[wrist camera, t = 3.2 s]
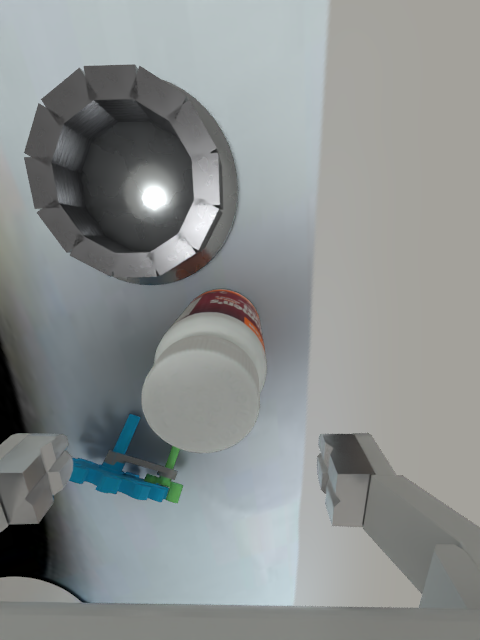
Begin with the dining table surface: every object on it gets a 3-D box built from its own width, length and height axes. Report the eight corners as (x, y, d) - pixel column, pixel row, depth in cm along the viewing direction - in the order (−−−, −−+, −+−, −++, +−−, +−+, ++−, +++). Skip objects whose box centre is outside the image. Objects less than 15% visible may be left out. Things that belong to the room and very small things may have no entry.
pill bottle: (274, 313, 22) (303, 385, 12) (234, 372, 24) (225, 484, 13) (208, 272, 22) (171, 308, 11) (170, 336, 23) (105, 424, 12)
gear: (46, 467, 25) (18, 482, 17) (81, 402, 28) (73, 387, 19) (162, 498, 28) (188, 525, 19) (183, 437, 31) (215, 437, 22)
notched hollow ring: (239, 281, 22) (238, 291, 18) (73, 284, 22) (37, 294, 18) (235, 80, 18) (233, 37, 14) (36, 85, 18) (-19, 45, 14)
